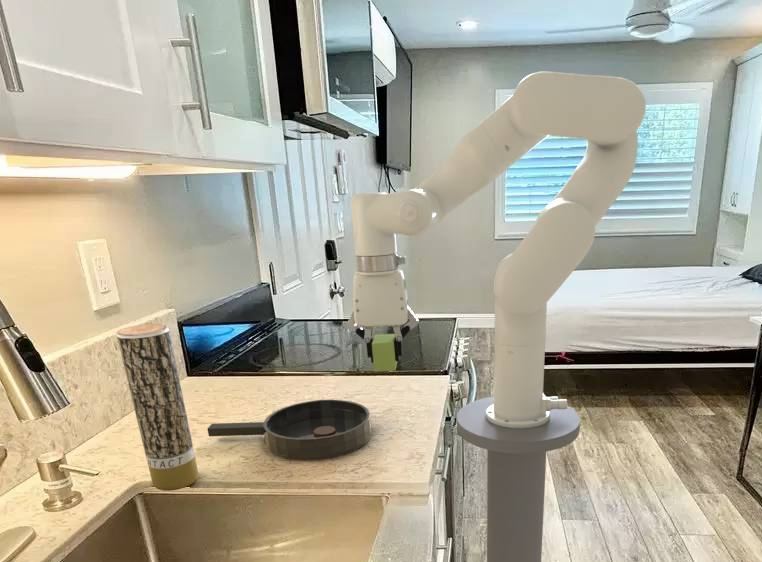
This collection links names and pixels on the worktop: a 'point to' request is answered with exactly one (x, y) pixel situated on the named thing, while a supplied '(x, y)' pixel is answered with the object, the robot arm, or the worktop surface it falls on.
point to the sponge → (384, 352)
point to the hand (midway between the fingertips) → (385, 359)
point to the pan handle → (236, 429)
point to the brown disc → (324, 431)
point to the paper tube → (158, 405)
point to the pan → (297, 422)
